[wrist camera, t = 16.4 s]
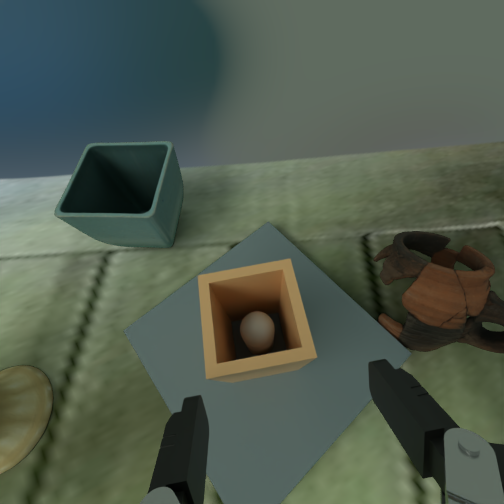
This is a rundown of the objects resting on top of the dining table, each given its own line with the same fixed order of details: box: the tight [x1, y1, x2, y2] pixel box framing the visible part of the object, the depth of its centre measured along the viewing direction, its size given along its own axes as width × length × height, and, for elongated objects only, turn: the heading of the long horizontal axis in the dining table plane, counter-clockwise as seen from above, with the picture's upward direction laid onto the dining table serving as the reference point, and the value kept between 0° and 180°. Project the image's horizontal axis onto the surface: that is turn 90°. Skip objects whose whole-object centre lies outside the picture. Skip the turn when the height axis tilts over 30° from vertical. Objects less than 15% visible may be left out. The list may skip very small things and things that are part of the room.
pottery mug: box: [374, 231, 504, 353], centre depth 23 cm, size 12×10×8 cm
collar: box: [198, 259, 317, 383], centre depth 19 cm, size 6×6×10 cm
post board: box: [124, 222, 411, 504], centre depth 21 cm, size 18×18×8 cm
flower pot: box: [54, 141, 183, 248], centre depth 27 cm, size 9×9×9 cm
